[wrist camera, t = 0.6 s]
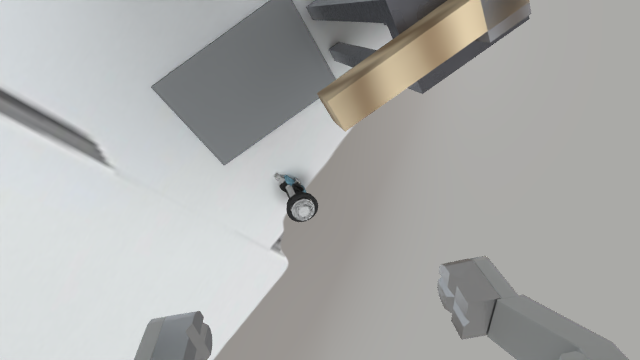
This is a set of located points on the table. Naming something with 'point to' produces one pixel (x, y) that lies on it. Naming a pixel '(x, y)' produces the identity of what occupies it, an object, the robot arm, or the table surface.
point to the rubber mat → (248, 80)
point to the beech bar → (417, 54)
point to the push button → (297, 199)
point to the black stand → (393, 31)
